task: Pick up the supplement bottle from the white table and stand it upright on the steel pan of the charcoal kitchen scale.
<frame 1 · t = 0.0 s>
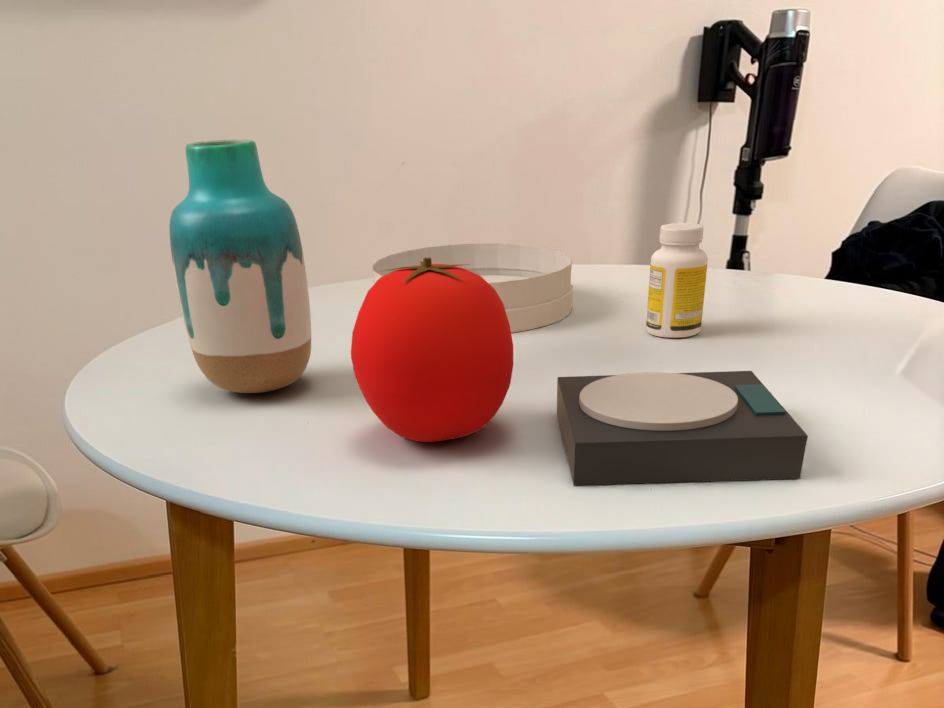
supplement bottle: (672, 334, 91), on the table
scale: (667, 443, 66), on the table
tomato: (435, 438, 69), on the table
vase: (259, 390, 80), on the table
dish: (473, 311, 102), on the table
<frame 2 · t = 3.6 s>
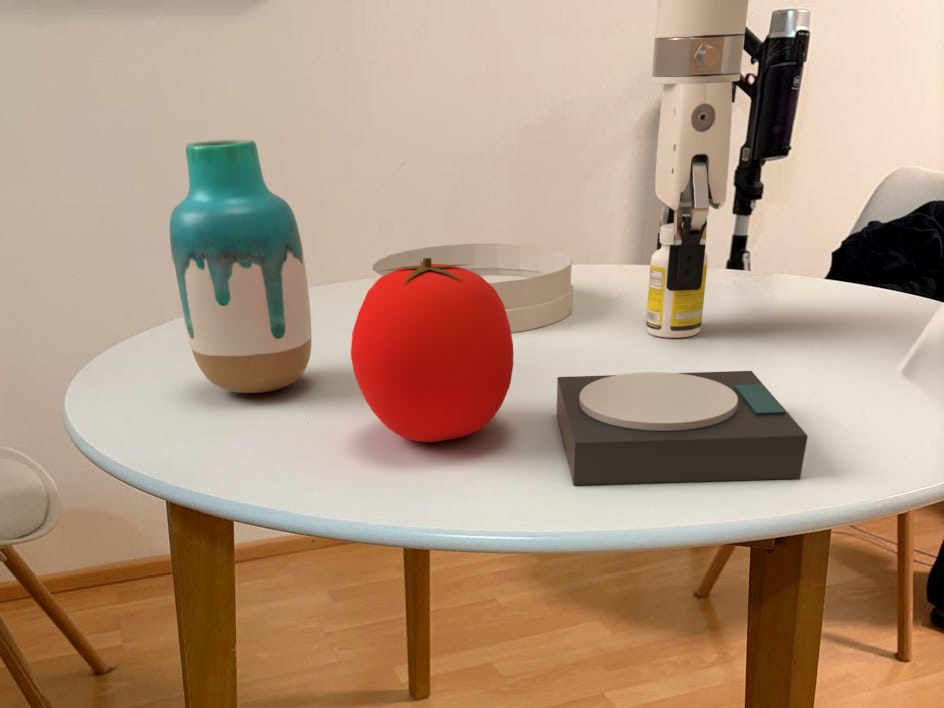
hand: (677, 280, 88), 5 cm above the table, tool pointing down, fingers closed on supplement bottle, 5 cm apart
supplement bottle: (672, 333, 91), on the table, touching gripper
everything else where it was.
when the fingers open (9 cm above the table, at t = 10.6 s): supplement bottle stays where it is, resting on scale.
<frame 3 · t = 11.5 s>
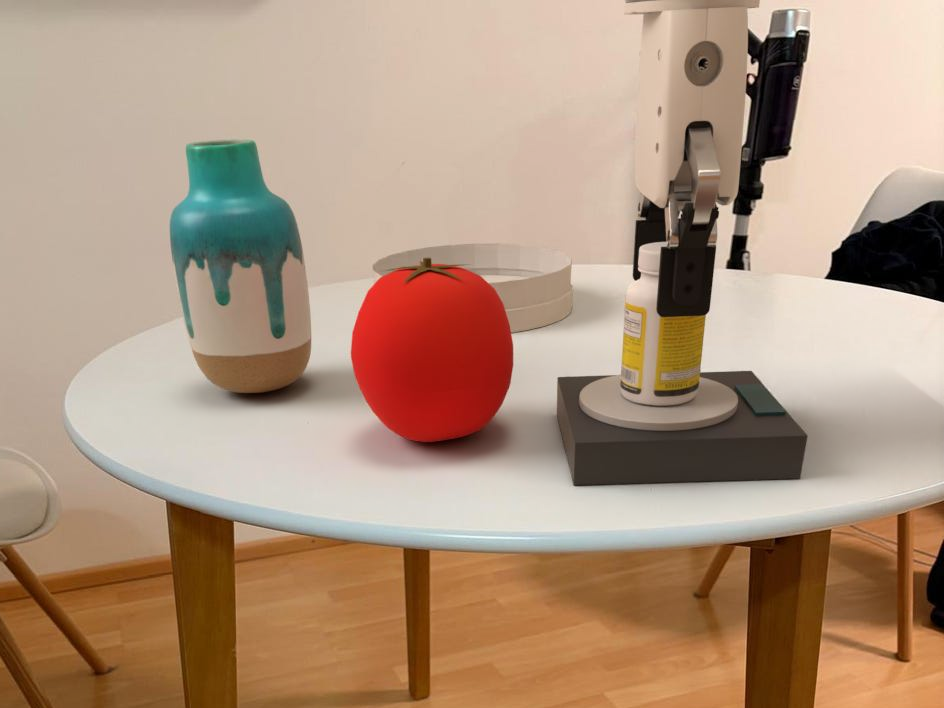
hand: (667, 296, 61), 10 cm above the table, tool pointing down, fingers open, 9 cm apart
supplement bottle: (657, 398, 64), point 3 cm above the table, touching scale
everything else where it was.
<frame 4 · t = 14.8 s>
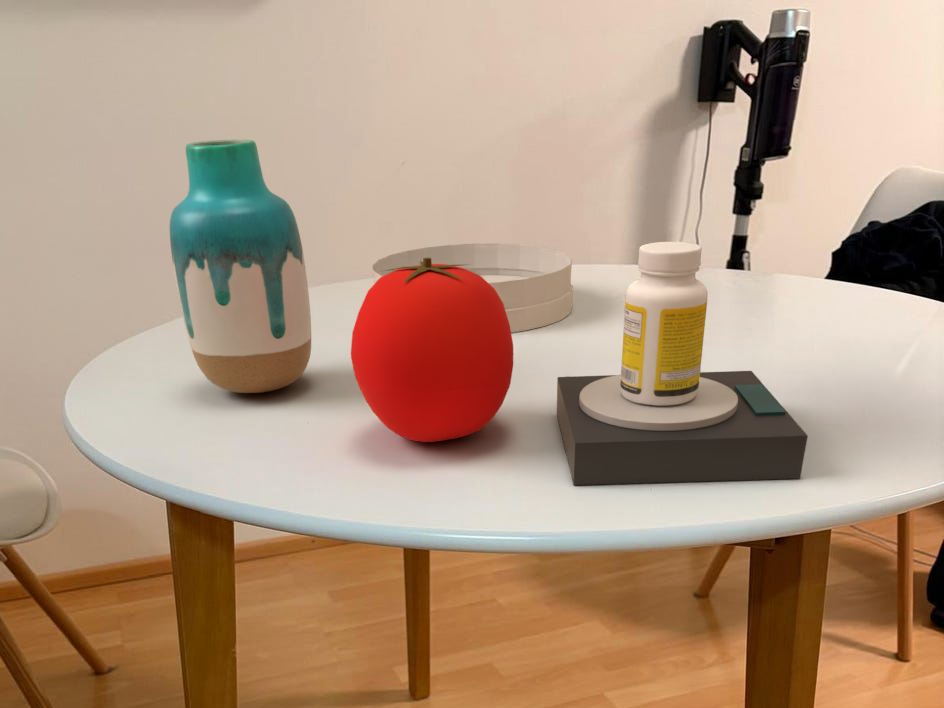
nothing on the table moved.
at the end: supplement bottle inside the target area on the scale (0.0 cm from its centre), point 3.4 cm above the scale's base; supplement bottle tilted 0°; the gripper is holding nothing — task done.
